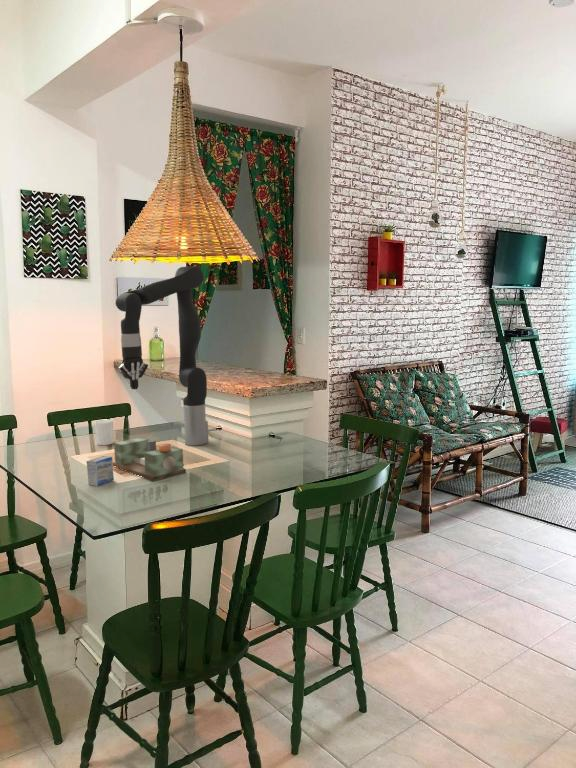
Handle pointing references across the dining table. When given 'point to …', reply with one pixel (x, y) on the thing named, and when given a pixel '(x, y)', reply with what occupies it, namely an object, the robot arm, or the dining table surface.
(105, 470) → the medicine box
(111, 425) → the white cup
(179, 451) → the rail stand
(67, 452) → the dining table surface
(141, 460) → the carriage
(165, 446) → the button
